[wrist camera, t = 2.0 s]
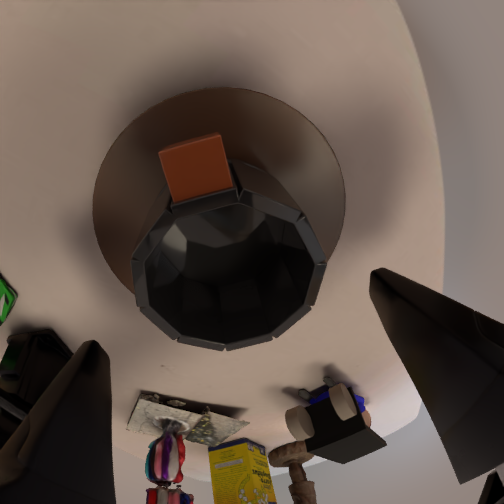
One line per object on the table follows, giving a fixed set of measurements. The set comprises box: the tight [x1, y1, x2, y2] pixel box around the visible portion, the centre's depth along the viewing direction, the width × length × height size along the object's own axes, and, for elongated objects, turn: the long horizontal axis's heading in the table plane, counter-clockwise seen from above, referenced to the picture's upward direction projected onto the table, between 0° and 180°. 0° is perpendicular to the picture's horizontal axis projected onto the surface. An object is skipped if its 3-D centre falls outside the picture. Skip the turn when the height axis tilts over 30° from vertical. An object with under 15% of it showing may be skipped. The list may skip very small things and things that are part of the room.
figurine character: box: [285, 377, 387, 464], centre depth 25 cm, size 7×8×15 cm
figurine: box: [268, 441, 317, 504], centre depth 28 cm, size 9×8×20 cm
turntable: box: [93, 87, 345, 295], centre depth 14 cm, size 13×13×1 cm
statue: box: [126, 394, 250, 504], centre depth 20 cm, size 11×9×15 cm
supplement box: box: [208, 438, 277, 504], centre depth 28 cm, size 6×6×11 cm
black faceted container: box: [130, 132, 327, 351], centre depth 11 cm, size 8×7×4 cm
